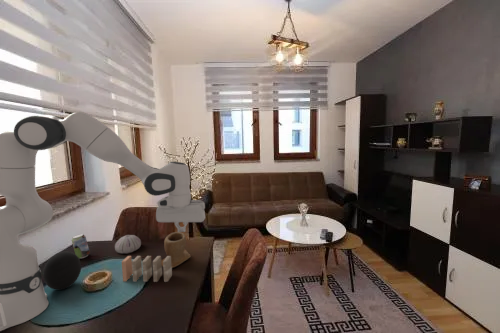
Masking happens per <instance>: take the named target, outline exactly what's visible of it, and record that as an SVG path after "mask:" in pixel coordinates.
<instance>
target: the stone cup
mask: <svg viewBox="0 0 500 333" xmlns="http://www.w3.org/2000/svg"><path fill="white" fill-rule="evenodd" d="M163 243H164V244H163V245H164V252H165V254H166V257H167V256H171V266H172V269H173V268H176V267H178V266H180V265H181V264H183V263H184V262H185V261H187V260H189V259H190V258H191V257H192V256H191V254H190V253H189V252H188V250H187V249H186V248H185V247H186V244H187V237H186V235H185V233H184V232H178V231H175V232H171V233H170V234H168V235H167V236H166V237H165V238H164V241H163ZM166 257H165V258H166ZM165 258H163V259H161V265H162V267H163V261H164V260H165Z"/></svg>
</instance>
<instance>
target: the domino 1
mask: <svg viewBox="0 0 500 333" xmlns="http://www.w3.org/2000/svg"><path fill="white" fill-rule="evenodd" d="M132 261H133V259H132V255H127V256H126V257H125V258H124V259H122V260H121V271H122V282H128V281H129V280H130V279H131V277H132V276H133V275H132V274H133V272H132ZM131 275H132V276H131ZM130 276H131V277H130ZM128 279H129V280H128ZM127 280H128V281H127Z"/></svg>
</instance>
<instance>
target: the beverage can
mask: <svg viewBox="0 0 500 333" xmlns="http://www.w3.org/2000/svg"><path fill="white" fill-rule="evenodd" d="M71 244H72V246H73V250H74V251H73V252H74V254H75V255H77V257H78V258H79V260H80V259H85V258H87V257H88V256H89V255H90V254H91V251H90V248H89V245H88V241H87V237H86V235H85V234H84V233H80V234H77V235H74V236H72V239H71Z"/></svg>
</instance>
